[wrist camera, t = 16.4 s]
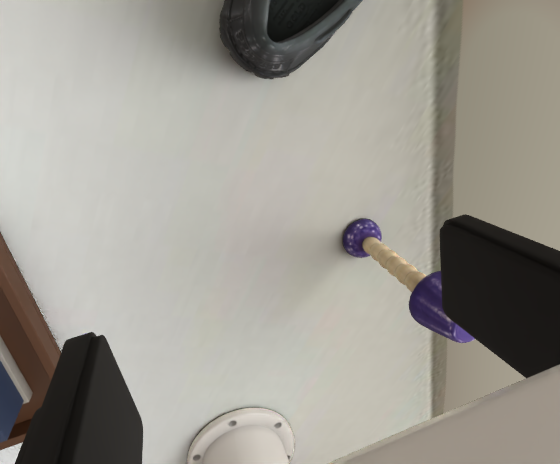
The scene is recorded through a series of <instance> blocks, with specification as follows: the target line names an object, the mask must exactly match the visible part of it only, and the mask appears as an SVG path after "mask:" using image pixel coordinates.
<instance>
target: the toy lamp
mask: <svg viewBox="0 0 560 464" xmlns="http://www.w3.org/2000/svg"><path fill="white" fill-rule="evenodd" d="M381 239H382V236H381V231H380V229H379V227H378V226H377V224H376V223H374V222H373V221H372V220H370V219H360V220H357V221H355V222H353V223H352V224H351V225H349V227H348V228H347V229H346V231H345V233H344V236H343V246H344V248H345V250H346V251H347V252H348V253H349V254H350V255H352V256H355V257H360V258H362V257H368V256H370V255H371V256H372V258H373V259H374V260H376V261H378V262H379V264H380V265H381V266H382V267H383V268H385V269H387V270H388V272H389V273H390V274H391V275H393V276H395V277H396V278H397V279H398V281H399V282H401V283H402V284H404V285H406V286H407V288H408V289H409V290H410V291H411V292H412V294H411V296H410V301H409V310H410V313H411V315H412V317H413V318H414V319H415V320H416V321H417V322H418V323H419V324H421V325H422V326H424V327H426V328H428V329H430V330H432V331H434V332H436V333H438V334H440V335H442V336H444V337H446V338H449V339H451V340H453V341H456V342H459V343H466V342H470V341H472V340H474V339H475V338H474V337H473V336H471V335H470V334H469V333H467V332H466V331H465V330H463V329H462V328H461V327H460V326H458V325H457V324H456V323H454V322H453V321H452V320H451V319H449V318H448V317H447V316H446V314H445V313H444V311H443V308H442V287H441V271H438V272H434V273H431V274H430V275H428V276H426V275H424V274H423V273H421V272H418V270H417V269H416V268H415V267H414V266H412V265H410V264H408V263H407V262H406V260H404V259H403V258H401V257H399V256H398V255H397V254H396V253H395V252H394V251H392V250H389V248H388V247H387V246H386V245H384V244H382V243H381Z"/></svg>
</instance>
